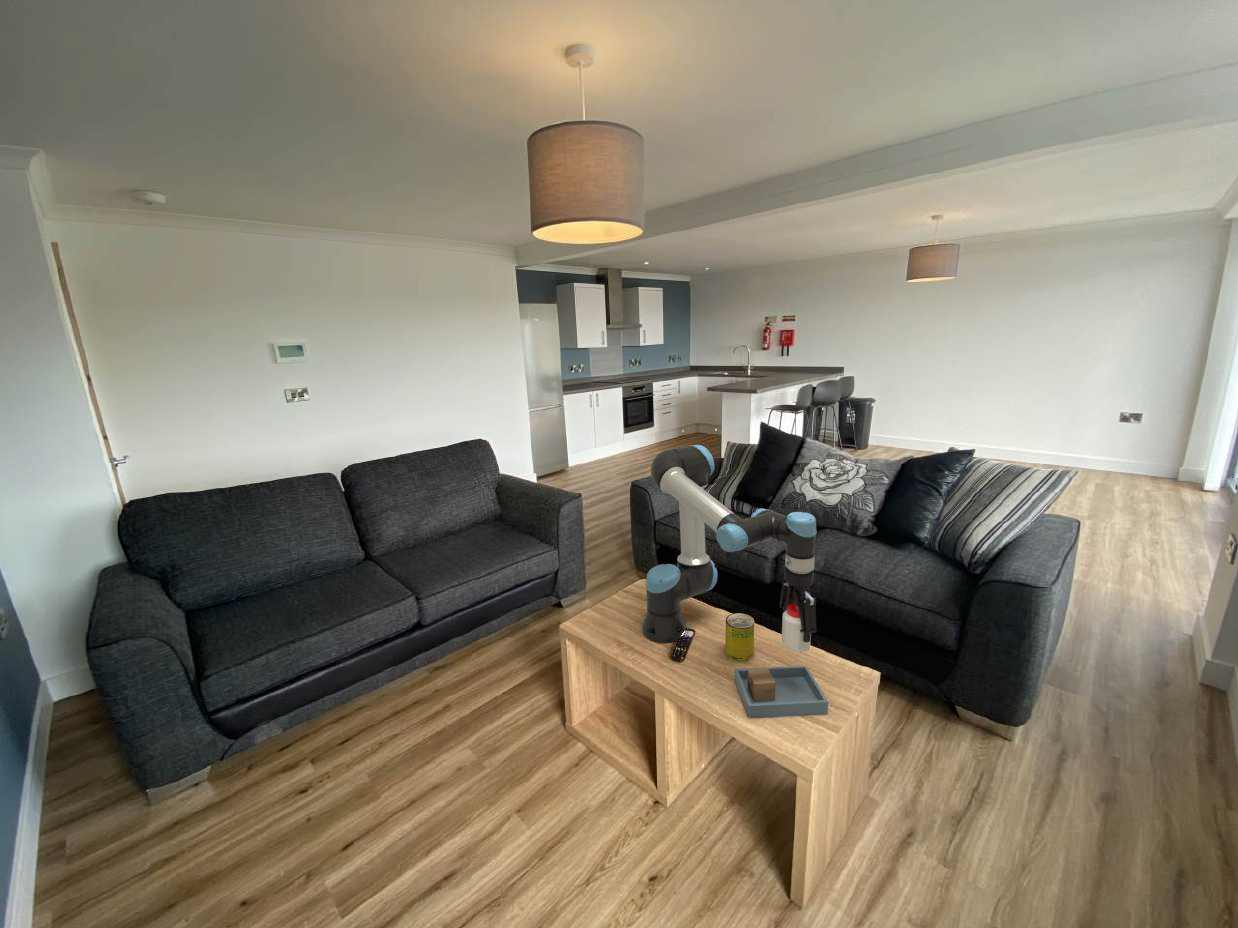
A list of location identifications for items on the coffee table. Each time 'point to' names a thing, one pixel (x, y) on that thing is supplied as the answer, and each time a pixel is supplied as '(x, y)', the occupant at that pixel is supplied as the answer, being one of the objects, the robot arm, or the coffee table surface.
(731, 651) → the beverage can
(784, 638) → the pill bottle
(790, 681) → the blue-grey tray
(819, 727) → the coffee table surface
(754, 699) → the walnut cube
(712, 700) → the coffee table surface
